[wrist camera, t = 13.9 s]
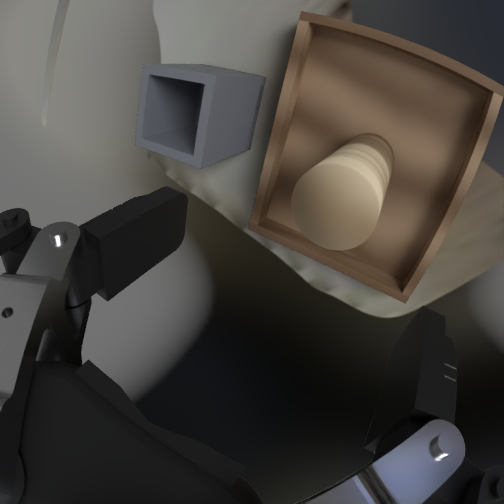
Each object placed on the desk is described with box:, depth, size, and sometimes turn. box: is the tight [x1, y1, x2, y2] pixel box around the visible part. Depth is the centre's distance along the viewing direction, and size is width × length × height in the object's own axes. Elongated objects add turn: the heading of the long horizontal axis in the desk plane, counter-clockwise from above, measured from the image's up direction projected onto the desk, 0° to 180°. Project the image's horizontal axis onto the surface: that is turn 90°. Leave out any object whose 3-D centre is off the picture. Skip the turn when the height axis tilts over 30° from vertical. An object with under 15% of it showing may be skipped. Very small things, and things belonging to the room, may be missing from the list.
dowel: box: [291, 133, 394, 250], centre depth 19 cm, size 4×4×13 cm
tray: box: [248, 11, 504, 304], centre depth 23 cm, size 20×16×3 cm
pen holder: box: [135, 64, 266, 169], centre depth 25 cm, size 7×7×8 cm
